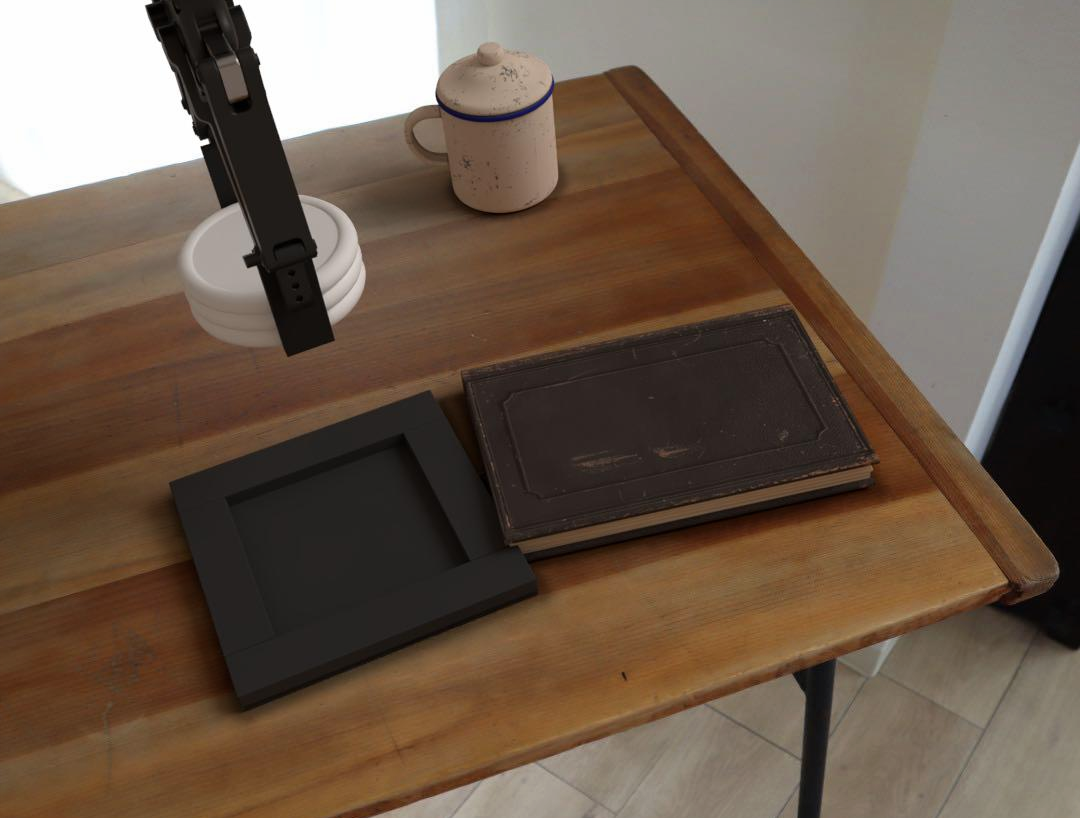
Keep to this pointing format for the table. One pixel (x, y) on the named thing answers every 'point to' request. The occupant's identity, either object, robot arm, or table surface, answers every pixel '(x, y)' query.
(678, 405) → the hardcover book
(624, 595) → the table surface
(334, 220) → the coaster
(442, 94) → the teacup with lid
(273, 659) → the base pad
